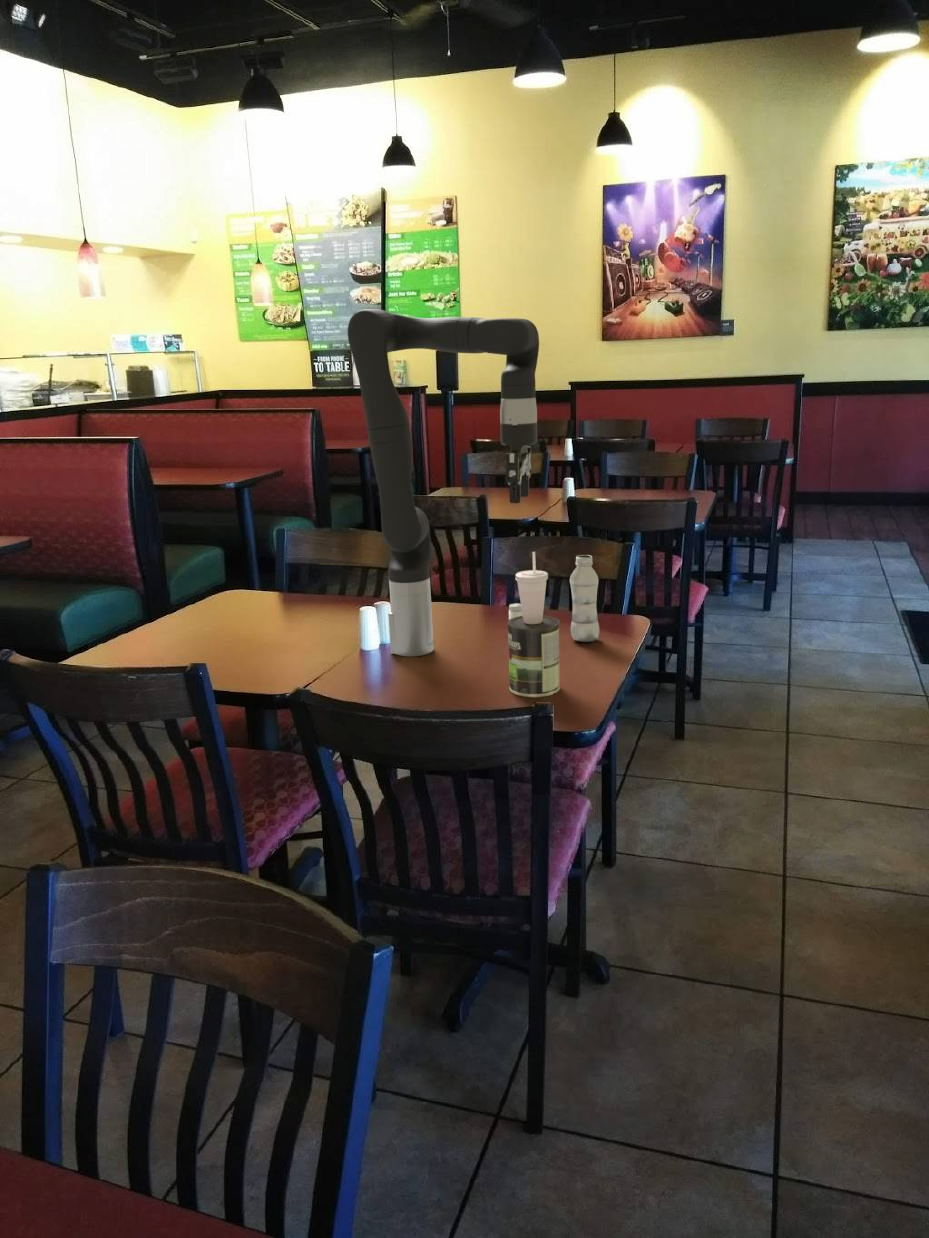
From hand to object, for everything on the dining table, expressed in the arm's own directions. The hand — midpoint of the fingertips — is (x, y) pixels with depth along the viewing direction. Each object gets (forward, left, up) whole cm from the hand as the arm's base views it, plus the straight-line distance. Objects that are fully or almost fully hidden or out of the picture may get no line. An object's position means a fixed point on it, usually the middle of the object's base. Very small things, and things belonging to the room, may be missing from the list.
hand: (519, 499), depth 195 cm
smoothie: (+5, -17, -22) cm, 28 cm away
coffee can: (+5, -17, -36) cm, 40 cm away
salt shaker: (-5, +16, -36) cm, 39 cm away
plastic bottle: (+11, +16, -36) cm, 41 cm away
